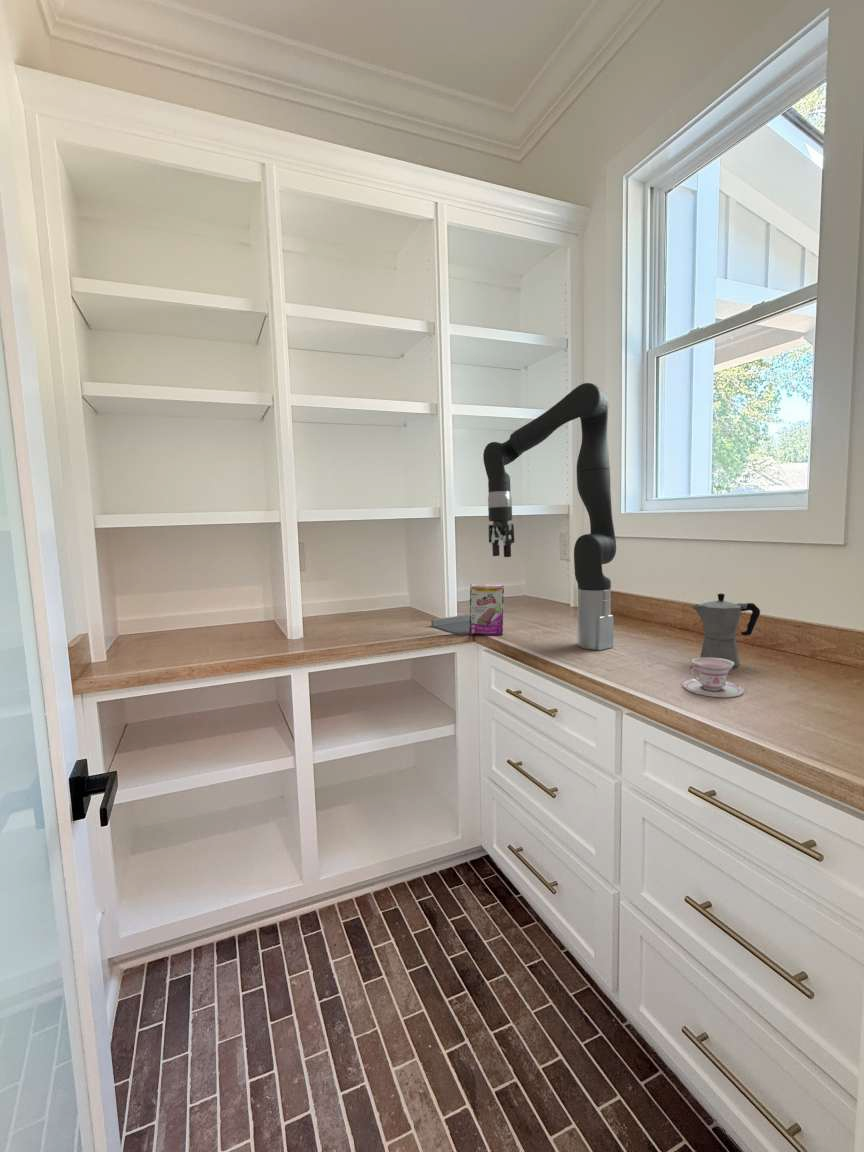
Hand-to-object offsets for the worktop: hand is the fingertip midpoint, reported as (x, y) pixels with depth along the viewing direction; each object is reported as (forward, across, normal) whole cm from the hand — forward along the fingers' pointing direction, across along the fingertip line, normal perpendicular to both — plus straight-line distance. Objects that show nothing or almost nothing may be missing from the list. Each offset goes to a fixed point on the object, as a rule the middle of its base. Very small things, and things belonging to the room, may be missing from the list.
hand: (501, 556), depth 171 cm
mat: (+26, +16, +7) cm, 31 cm away
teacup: (+28, -66, -18) cm, 74 cm away
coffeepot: (+28, -52, -37) cm, 70 cm away
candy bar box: (+26, +5, +4) cm, 27 cm away
